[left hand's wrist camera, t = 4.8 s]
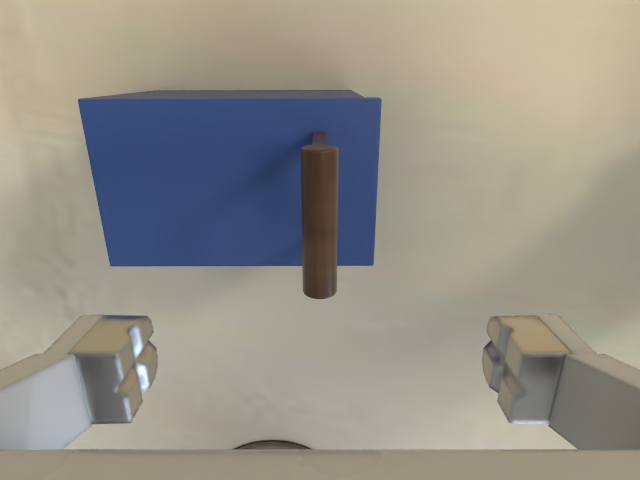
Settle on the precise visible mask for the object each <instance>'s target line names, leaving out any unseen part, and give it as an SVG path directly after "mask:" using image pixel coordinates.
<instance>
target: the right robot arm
mask: <svg viewBox="0 0 640 480" xmlns="http://www.w3.org/2000/svg"><path fill="white" fill-rule="evenodd" d="M236 450H310V449H308V448H305V447H302V446H299V445H296V444H291V443H286V442H259V443H254V444H249V445H246V446H243V447H240V448H238V449H236Z"/></svg>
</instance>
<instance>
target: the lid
mask: <svg viewBox="0 0 640 480" xmlns="http://www.w3.org/2000/svg"><path fill="white" fill-rule="evenodd" d="M78 103H79V108H80V113H81V118H82V124H83V129H84V134H85V139H86V144H87V149H88V154H89V159H90V164H91V169H92V175H93V180H94V185H95V190H96V195H97V200H98V205H99V210H100V215H101V220H102V225H103V231H104V236H105V241H106V246H107V251H108V256H109V261H110V266H303V292H304V294H305V295H306V296H308V297H310V298H315V299H325V298H329V297H332V296H333V295H334V294H335V293H336V291H337V266H372V265H373V264H374V243H375V222H376V201H377V181H378V160H379V139H380V118H381V99H380V98H83V99H78Z"/></svg>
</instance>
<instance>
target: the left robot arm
mask: <svg viewBox="0 0 640 480" xmlns="http://www.w3.org/2000/svg"><path fill="white" fill-rule="evenodd" d="M152 334H153V327H152V322H151V319H150V318H149V317H148V316H125V315H85V316H81V317H80V318H79V319H78V320H77V321H76V322H75V323H74V324H73V325H72V326H71V327H70V328H69V329H68V330H67V331H66V332H65V333H64V334H62V335H61V336H60V337H59V338H58V339H57V340H56V341H55V342H54V343H53V344H52V345H51V346H50V347H49V348H48V349H47V350H46V351H45V352H44V353H43V354H35V355H33V356H31V357H28V358H26V359H24V360H21V361H19V362H17V363H15V364H12V365H10V366H8V367H6V368H3V369H1V370H0V480H640V370H639V369H637V368H634V367H632V366H630V365H628V364H625V363H623V362H621V361H618V360H616V359H614V358H612V357H609V356H607V355H605V354H597V353H596V352H595V351H594V350H593V349H592V348H591V347H590V346H589V345H588V344H587V343H586V342H585V341H584V340H583V339H582V338H581V337H580V336H579V335H578V334H577V333H576V332H575V331H574V330H573V329H572V328H571V327H570V326H569V325H568V324H567V323H566V322H565V321H564V320H563V319H562V318H561V317H559V316H557V315H531V316H494V317H491V318H490V320H489V322H488V326H487V334H488V335H489V337H490V338H491V341H490V342H489V343H488V344H487V345H486V346H485V347H484V350H483V358H482V362H483V372H484V375H485V379H486V381H487V383H488V385H489V387H490V388H491V389H493V390H494V391H496V392H497V393H499V394H498V400H497V402H498V403H499V405H500V407H501V409H502V411H503V413H504V414H505V416H506V418H507V420H508V422H509V423H526V424H549V425H548V426H549V427H550V428H552V429H553V430H554V431H555V432H557V433H558V434H559V435H561V436H562V437H563V438H564V439H566V440H567V441H568V442H570V443H571V444H572V445H573V446H575V447H576V448H577V449H578V450H62V449H63V448H64V447H66V446H67V445H68V444H69V443H71V442H72V441H73V440H74V439H76V438H77V437H78V436H80V435H81V434H82V433H83V432H85V431H86V430H87V429H89V428H90V427H91V426H92V425H91V424H113V423H131V422H132V420H133V418H134V416H135V414H136V413H137V411H138V409H139V407H140V405H141V403H142V402H143V400H142V394H141V393H143V392H144V391H146V390H147V389H149V388H150V387H151V385H152V383H153V381H154V379H155V375H156V371H157V350H156V347H155V346H154V345H153V344H152V343H151V342H150V341H149V338H150V337H151V335H152Z"/></svg>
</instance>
